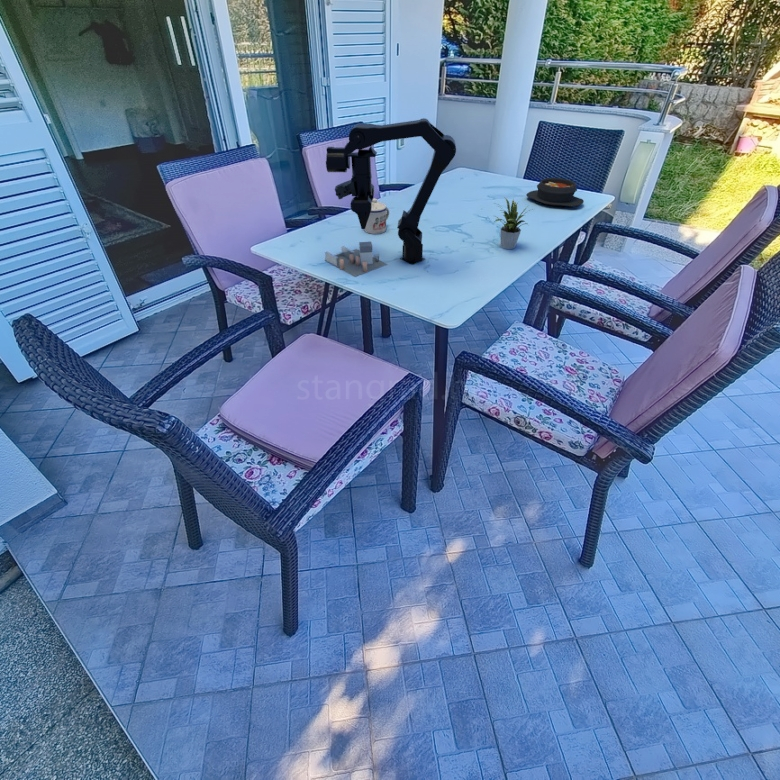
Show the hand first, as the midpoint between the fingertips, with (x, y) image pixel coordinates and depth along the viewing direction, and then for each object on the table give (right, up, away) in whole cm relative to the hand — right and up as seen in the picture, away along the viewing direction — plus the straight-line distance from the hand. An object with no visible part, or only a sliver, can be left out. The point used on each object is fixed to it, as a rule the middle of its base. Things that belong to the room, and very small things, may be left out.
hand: (364, 223), depth 145 cm
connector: (0, -11, +5) cm, 12 cm away
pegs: (-1, -13, +2) cm, 13 cm away
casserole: (+81, +29, +53) cm, 101 cm away
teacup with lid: (+4, +9, +29) cm, 31 cm away
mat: (-3, -12, +5) cm, 13 cm away
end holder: (-8, -11, +6) cm, 15 cm away
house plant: (+50, -2, +17) cm, 53 cm away
